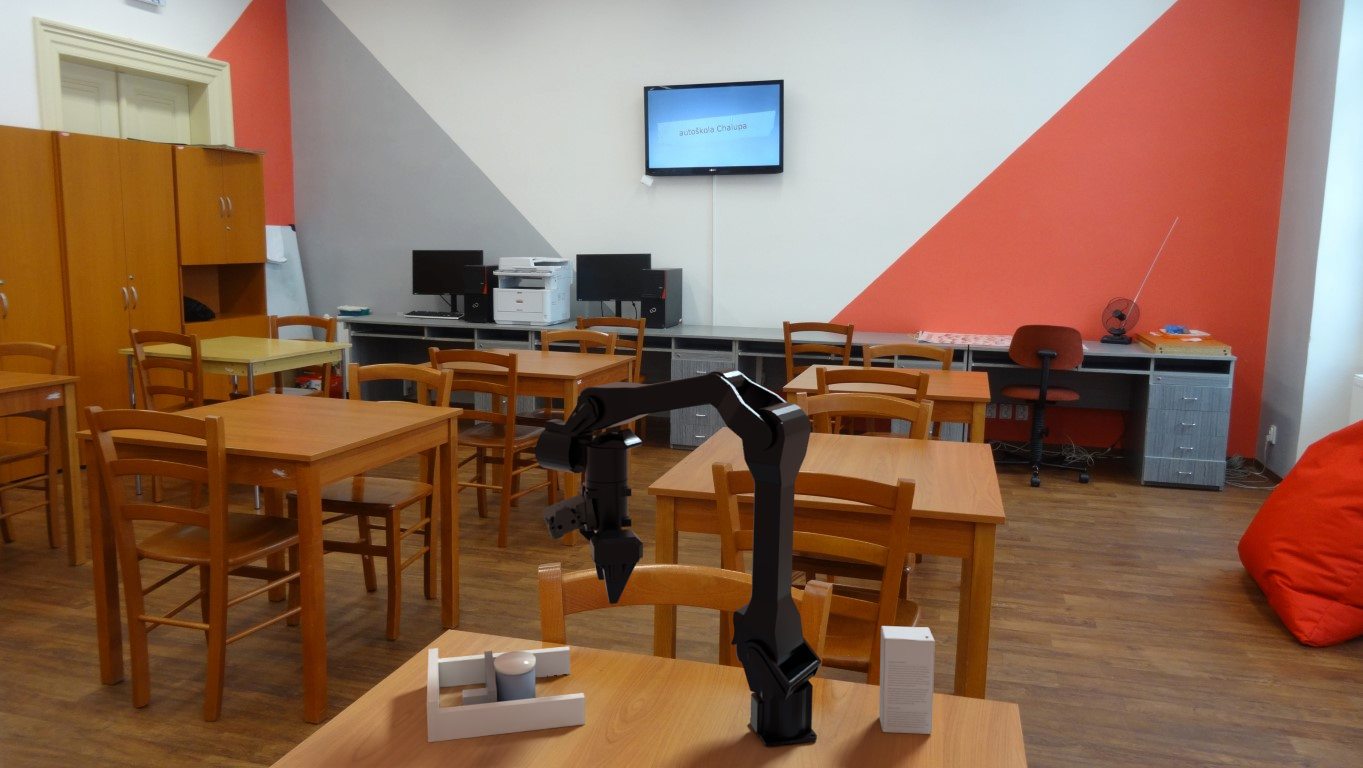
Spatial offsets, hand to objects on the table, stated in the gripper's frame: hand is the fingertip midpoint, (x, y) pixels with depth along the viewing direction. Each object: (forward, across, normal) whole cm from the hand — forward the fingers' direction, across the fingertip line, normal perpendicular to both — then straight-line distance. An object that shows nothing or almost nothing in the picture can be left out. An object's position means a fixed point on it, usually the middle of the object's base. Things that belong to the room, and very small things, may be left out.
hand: (607, 591), depth 129 cm
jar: (+12, +5, -13) cm, 18 cm away
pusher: (+12, +5, -17) cm, 22 cm away
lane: (+12, +5, -14) cm, 19 cm away
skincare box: (+12, +22, +33) cm, 41 cm away
